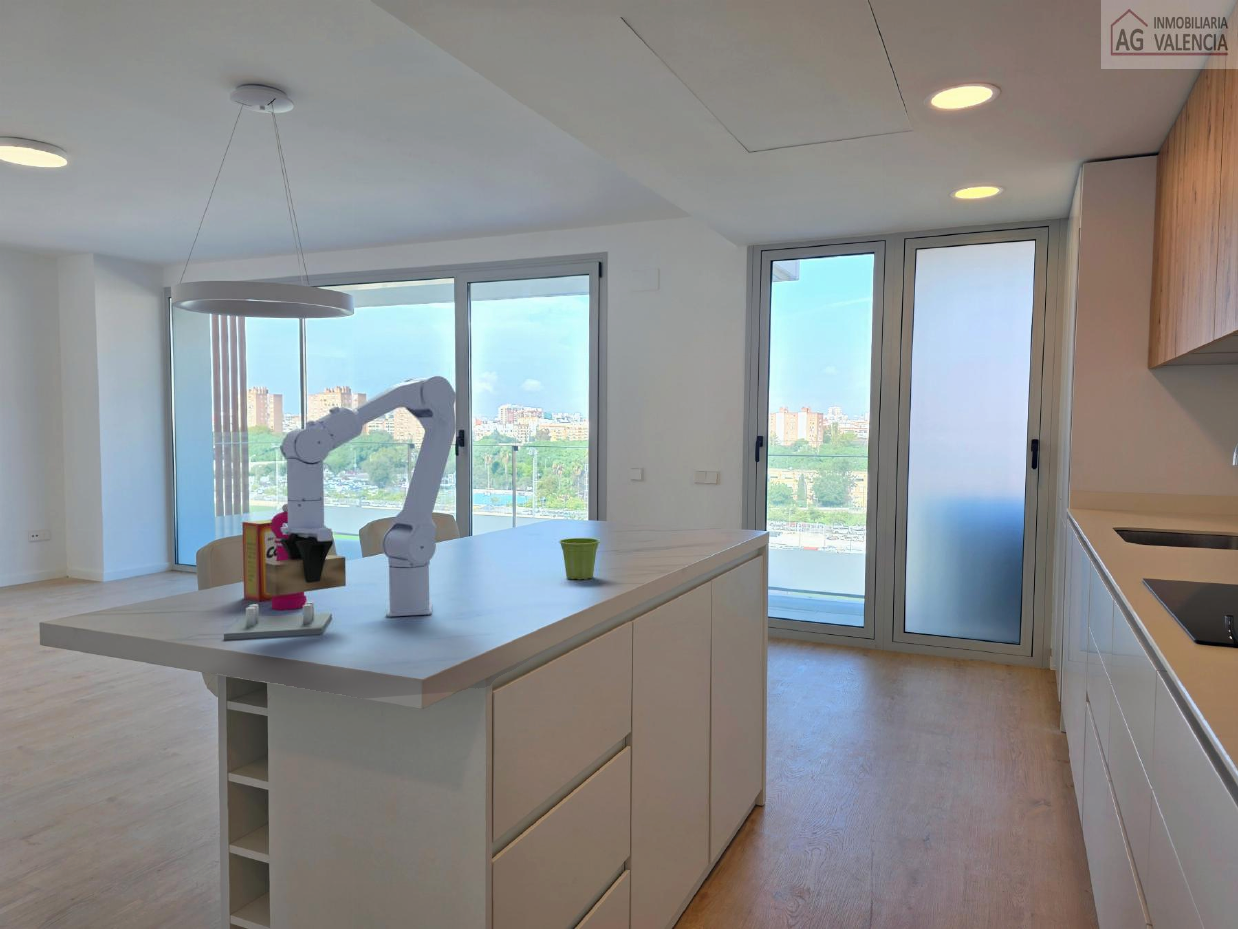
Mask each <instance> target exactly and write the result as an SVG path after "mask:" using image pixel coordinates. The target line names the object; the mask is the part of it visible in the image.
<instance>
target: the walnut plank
mask: <svg viewBox="0 0 1238 929" xmlns="http://www.w3.org/2000/svg"><path fill="white" fill-rule="evenodd" d="M346 570H347V569H346V557H345V556H343V555H342V556H341V555H336V554H329V555H327V556H326V559H325V562H324V566H323V570H322V575H321V579H320V581H319V582H311V583H307V582H306V579H305V574H304V567H303V561H302V559H293V560H284V561H275V562H266V563H265V580H266V593H268V594H271V595H275V596H278V595H286V594H293V593H300V592H304V593H306V592H313V591H318V590H319V591H320V590H326V589H333V588H342V587H346V586H347V585H346V584H347V582H346V580H347V578H346V574H347V573H346Z"/></svg>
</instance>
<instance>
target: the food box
mask: <svg viewBox="0 0 1238 929" xmlns="http://www.w3.org/2000/svg"><path fill="white" fill-rule="evenodd" d="M272 519H273V518H269V519H262V520H250V521H242V522H241V526H242V532H241V533H242V561H243V562H242V566H243V570H242V573H243V574H242V575H243V598H244V599H246V600H249V601H250V600H251V601H254V602H258V603H261V602H267V601H272V598H274V597H275V596H274V595H271V594H268V593H266V580H265V563H266V562H275V561H276V558H277V549H276V545H274V543H275V542H274V541H275V540H274V538H275V537H276V536H275V534H274V533H273V532H272V530H271V521H272ZM303 595H305V592H304V593H303Z"/></svg>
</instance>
